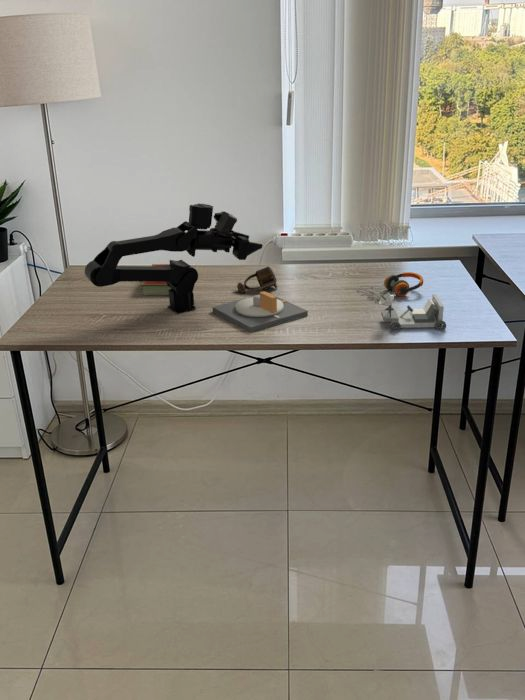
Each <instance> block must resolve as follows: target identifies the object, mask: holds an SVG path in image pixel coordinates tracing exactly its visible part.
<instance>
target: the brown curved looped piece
mask: <svg viewBox="0 0 525 700" xmlns="http://www.w3.org/2000/svg"><path fill="white" fill-rule="evenodd" d="M255 277H256V280H257V282H258V284H259V286H257V287H250V286H248V285H247V283H248V281H250V280H251V279H253V278H255ZM272 287H274V289H276V290H278V285H277V278H276V275H275V273H274V270H273V269H272V267H270V266H266V267H264V268H261V269H258V270H256V271H255V273H253V274H251V275H249V276H247V278H245V280H244V284H243V283H242V282H238V283H237V286H236V288H237V290H238V291H239V292H240V293H243V294H245V293H246V292H247V290H248V291H253V292H254V291H256V292H257V291H260V290H263V291H264V290H266V289H269V288H272Z"/></svg>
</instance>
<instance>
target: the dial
mask: <svg viewBox="0 0 525 700" xmlns="http://www.w3.org/2000/svg"><path fill="white" fill-rule="evenodd" d="M269 293H270V292H268V293H267V291H264V290H263V291H260V292H259V294H260V295H259V294H255V295H252V296H253V297H252V296H250V297H251V298H248V297H245V298H246V299H244V298H242V299H243V300H241V299H239V300H240V301H239V302H237V303H236V311H237V312H238V313H239V314H241V315H244V316H249V317H267V316H272V315H276V314H278V313H280V312H281V311H282V310H283V308H284V307H283V302H282V301H280V300H278V299H277V297H278V296H276V295H275V294H272V293H270V294H269ZM271 294H272V295H271Z"/></svg>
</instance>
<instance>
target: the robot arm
mask: <svg viewBox="0 0 525 700" xmlns="http://www.w3.org/2000/svg"><path fill="white" fill-rule="evenodd" d="M188 208H189V209H188V211H189V212H188V213H189V214H188V215H189V217H188V221H183V222H182V223H181V224H179V225H178V226H177V227H171V228H168V229H166V230H163V231H161V232H159V233H157V234H154V235H149V236H141V237H135V238H130V239H123V240H112V241H110V242H109V243H108V244H107V245H106V246H105V248H104V249H102V250H101V251H100V252H98V254H97V255H96V256H95V257H94V259H93V260H92V261H89V262H88V263H87V264H86V265H85V268H84V276H85V277H86V278H87V279H88V280H89V281H90V282H91V284H92V285H94V286H95V287H98V288H103V287H108V286H113V285H115V284H118V283H120V282H121V283H123V282H143V281H166V283H167V285H168V287H170V288H171V289H170V290H169V295H168V300H169V305H167V307H166V308H167V309H169V310H170V311H173V312H174V313H175V314H181V313H186V312H189V311H193V310H196V309H197V307H196V306H195V296H194V289H195V284H196V283H197V281H198V279H199V273H198V271H197V269H196V268H194V267H193V266H192V265H190V264H188V263H187V262H186V261H184V260H182V259H179V260H174V259H169V263H168V264H169V265H167V266H164V267H154V266H152V265H151V266H147V265H146V266H143V265H141V266H138V265H137V266H136V265H132V266H131V265H128V266H127V265H120V266H119V262H120V260H121V259H122V258H123V257H126V256H134V255H140V254H145V253H151V252H158V251H166V252H173V253H174V252H177V253H178V252H181V253H182V252H185V251H186V252H187V253H188V255H190V256H191V257H193V258H194V257H195V256H196V251H197V250H198V251H211V252H213V253H218V251H224V252H226V253H230V251H231V249H232V252H231V253H232V255H233V257H235V258H236V259H237V260H238V261H245V260H246V259H247V257H248V256H250V255H252V254H253V253H255V252H258V251H259V250H261V249H262V248H263V243H258V242H253V241H250V240H249V239H250V235H248V234H245V233H242V232H238V231H235V230H233V228H234V226H235V225H236V224H237V222H238V218H237V217H236V216H234V215H233V214H232V213H229V212H227V211H221V212H215V213H214V215H213V212H214V205H211V204H208V203H197V204H196V203H194V204H190V205H189V207H188ZM213 219H214V220H215V225H214V227H212V220H213ZM208 229H209V230H208Z"/></svg>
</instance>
